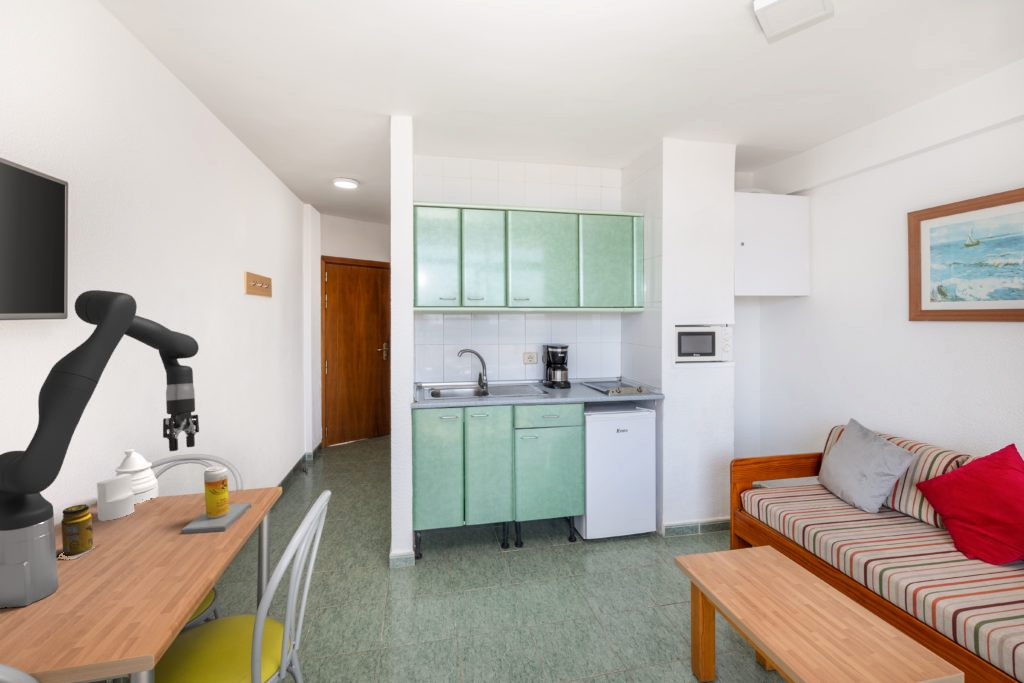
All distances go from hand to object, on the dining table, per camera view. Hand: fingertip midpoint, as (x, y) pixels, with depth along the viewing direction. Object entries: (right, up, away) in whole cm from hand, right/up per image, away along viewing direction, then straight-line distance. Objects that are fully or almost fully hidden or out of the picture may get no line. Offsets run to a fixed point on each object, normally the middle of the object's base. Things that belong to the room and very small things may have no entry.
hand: (182, 448), depth 149 cm
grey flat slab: (+14, -21, -4) cm, 26 cm away
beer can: (+14, -20, -4) cm, 25 cm away
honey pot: (-27, -21, +14) cm, 37 cm away
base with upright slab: (-22, -22, +1) cm, 31 cm away
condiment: (-13, -23, -23) cm, 35 cm away
